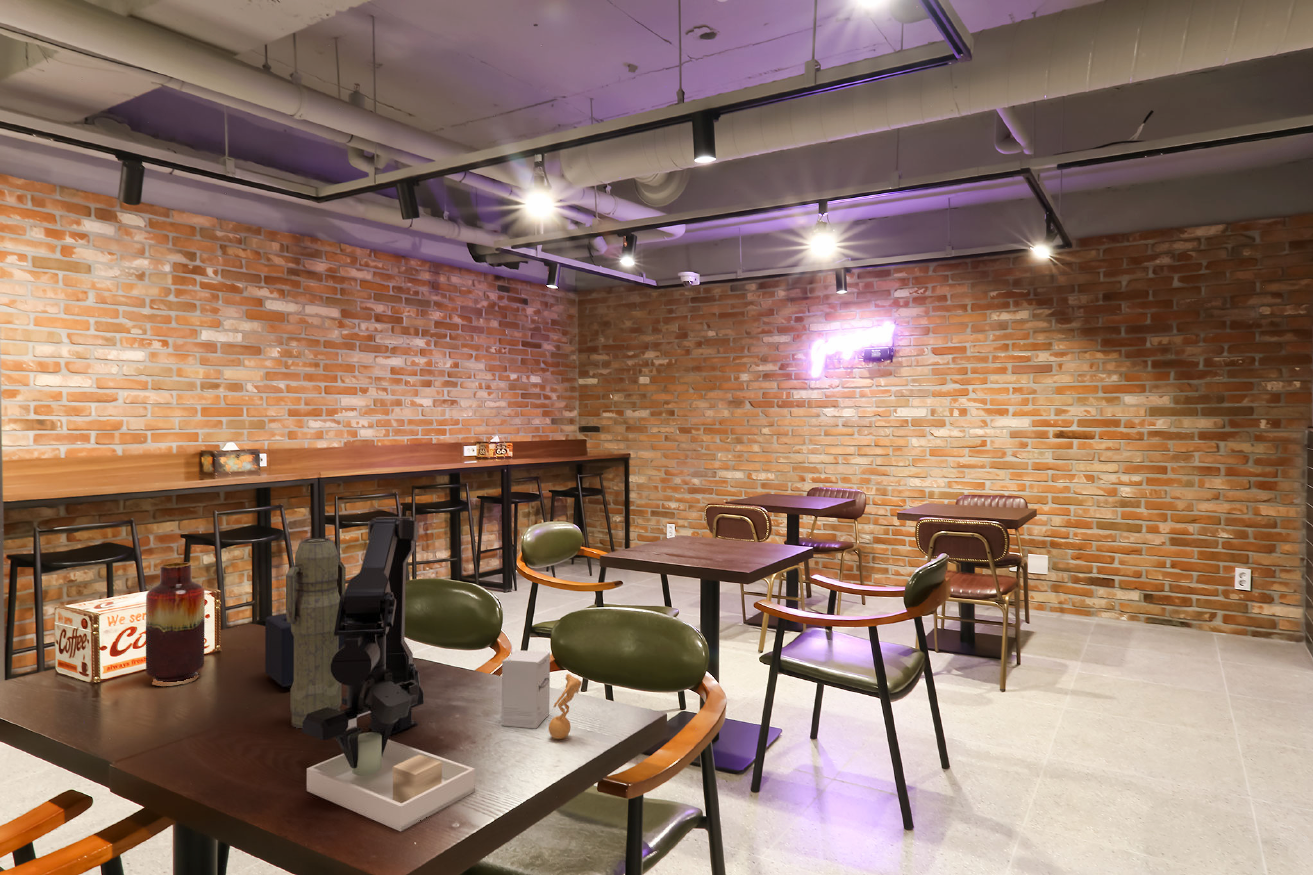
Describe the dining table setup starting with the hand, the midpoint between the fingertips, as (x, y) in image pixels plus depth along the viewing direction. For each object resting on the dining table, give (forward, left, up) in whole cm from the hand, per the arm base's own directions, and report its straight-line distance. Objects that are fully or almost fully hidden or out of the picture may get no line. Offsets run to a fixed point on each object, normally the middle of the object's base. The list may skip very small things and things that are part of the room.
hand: (366, 762), depth 119 cm
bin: (+6, 0, -3) cm, 7 cm away
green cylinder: (0, 0, -1) cm, 1 cm away
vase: (-78, +8, -3) cm, 78 cm away
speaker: (-53, +28, -3) cm, 60 cm away
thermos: (-30, +11, -3) cm, 32 cm away
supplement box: (+4, +33, -3) cm, 33 cm away
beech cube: (+12, 0, -2) cm, 12 cm away
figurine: (+16, +30, -3) cm, 34 cm away
